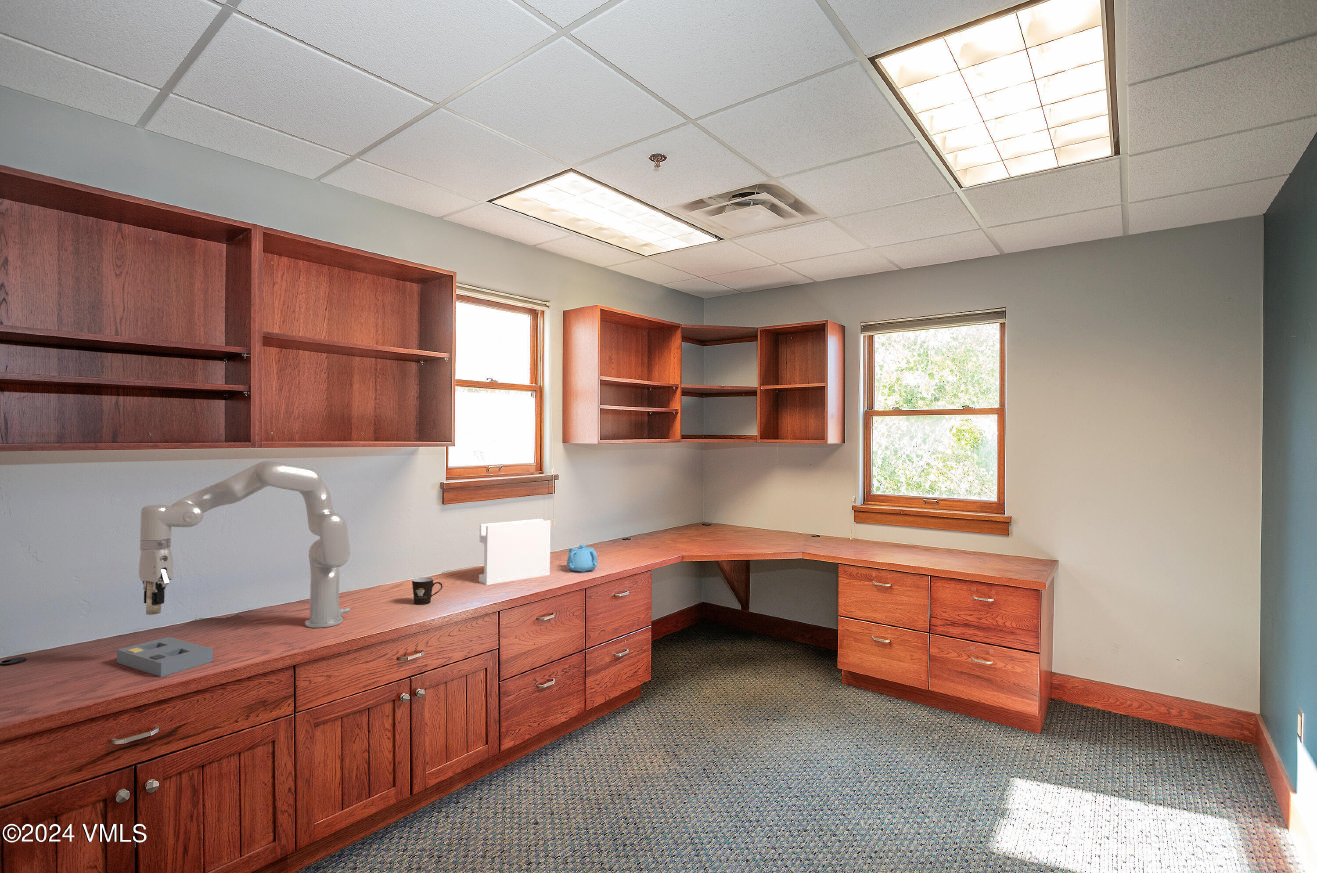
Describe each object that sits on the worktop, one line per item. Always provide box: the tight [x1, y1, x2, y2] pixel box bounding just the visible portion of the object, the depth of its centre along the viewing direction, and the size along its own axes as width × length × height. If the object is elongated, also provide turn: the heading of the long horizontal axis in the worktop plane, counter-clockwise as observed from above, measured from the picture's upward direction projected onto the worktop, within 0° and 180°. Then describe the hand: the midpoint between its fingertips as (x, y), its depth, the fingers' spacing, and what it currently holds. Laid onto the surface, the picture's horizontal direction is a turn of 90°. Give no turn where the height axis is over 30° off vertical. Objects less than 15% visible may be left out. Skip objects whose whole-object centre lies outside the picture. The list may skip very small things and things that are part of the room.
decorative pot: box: [566, 544, 599, 573], centre depth 333 cm, size 16×16×14 cm
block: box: [478, 518, 552, 586], centre depth 312 cm, size 35×8×28 cm, turn 132°
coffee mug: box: [411, 576, 443, 606], centre depth 264 cm, size 12×9×10 cm
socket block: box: [116, 636, 214, 678], centre depth 194 cm, size 14×24×4 cm, turn 65°
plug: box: [145, 579, 162, 616], centre depth 196 cm, size 4×4×10 cm
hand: (154, 602), depth 196 cm, fingers closed on plug, 3 cm apart
